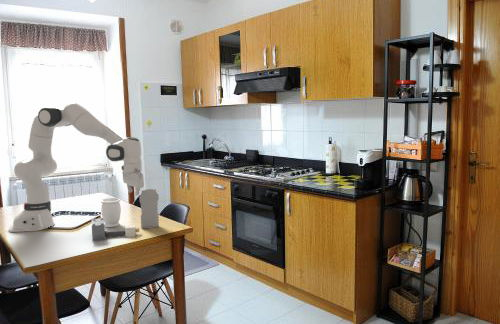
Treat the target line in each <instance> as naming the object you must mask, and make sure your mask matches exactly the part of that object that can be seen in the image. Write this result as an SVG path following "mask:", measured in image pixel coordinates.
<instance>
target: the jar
mask: <svg viewBox="0 0 500 324" xmlns="http://www.w3.org/2000/svg"><path fill="white" fill-rule="evenodd" d="M100 203H101V209H100V211H101V216H102V217H101V218H104V226H105V228H115V227H118V226H120V222H119V221H120V220H121V212H122V211H121V209H122V208H121V199H120V198H117V197H113V198H112V197H110V198H109V197H108V198H104V199H100Z"/></svg>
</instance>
